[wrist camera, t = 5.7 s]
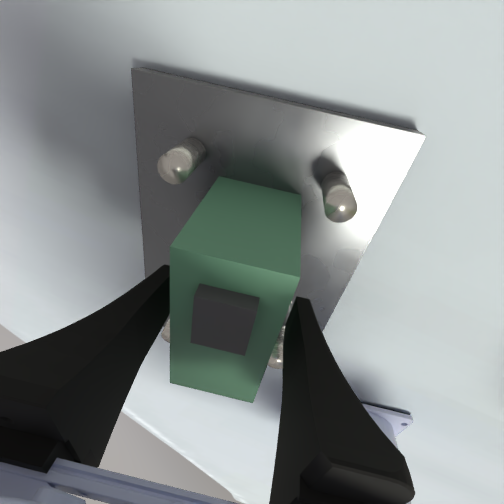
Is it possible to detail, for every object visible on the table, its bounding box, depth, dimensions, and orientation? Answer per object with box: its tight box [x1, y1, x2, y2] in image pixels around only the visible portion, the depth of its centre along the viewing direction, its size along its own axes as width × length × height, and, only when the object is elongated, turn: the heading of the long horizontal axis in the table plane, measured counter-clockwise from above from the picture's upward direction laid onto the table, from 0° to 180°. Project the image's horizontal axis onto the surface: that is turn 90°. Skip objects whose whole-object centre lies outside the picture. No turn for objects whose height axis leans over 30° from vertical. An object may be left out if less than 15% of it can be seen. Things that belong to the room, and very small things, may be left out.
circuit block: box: [170, 176, 301, 403], centre depth 13 cm, size 8×4×7 cm, turn 170°
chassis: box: [131, 68, 426, 369], centre depth 15 cm, size 16×12×4 cm
